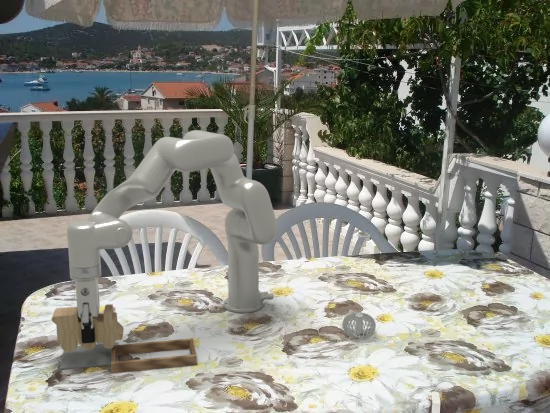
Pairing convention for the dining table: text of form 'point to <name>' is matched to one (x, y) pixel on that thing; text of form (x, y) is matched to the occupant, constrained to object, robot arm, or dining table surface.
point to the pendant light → (359, 315)
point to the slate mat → (87, 357)
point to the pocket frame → (153, 362)
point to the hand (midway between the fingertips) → (89, 336)
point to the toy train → (72, 324)
